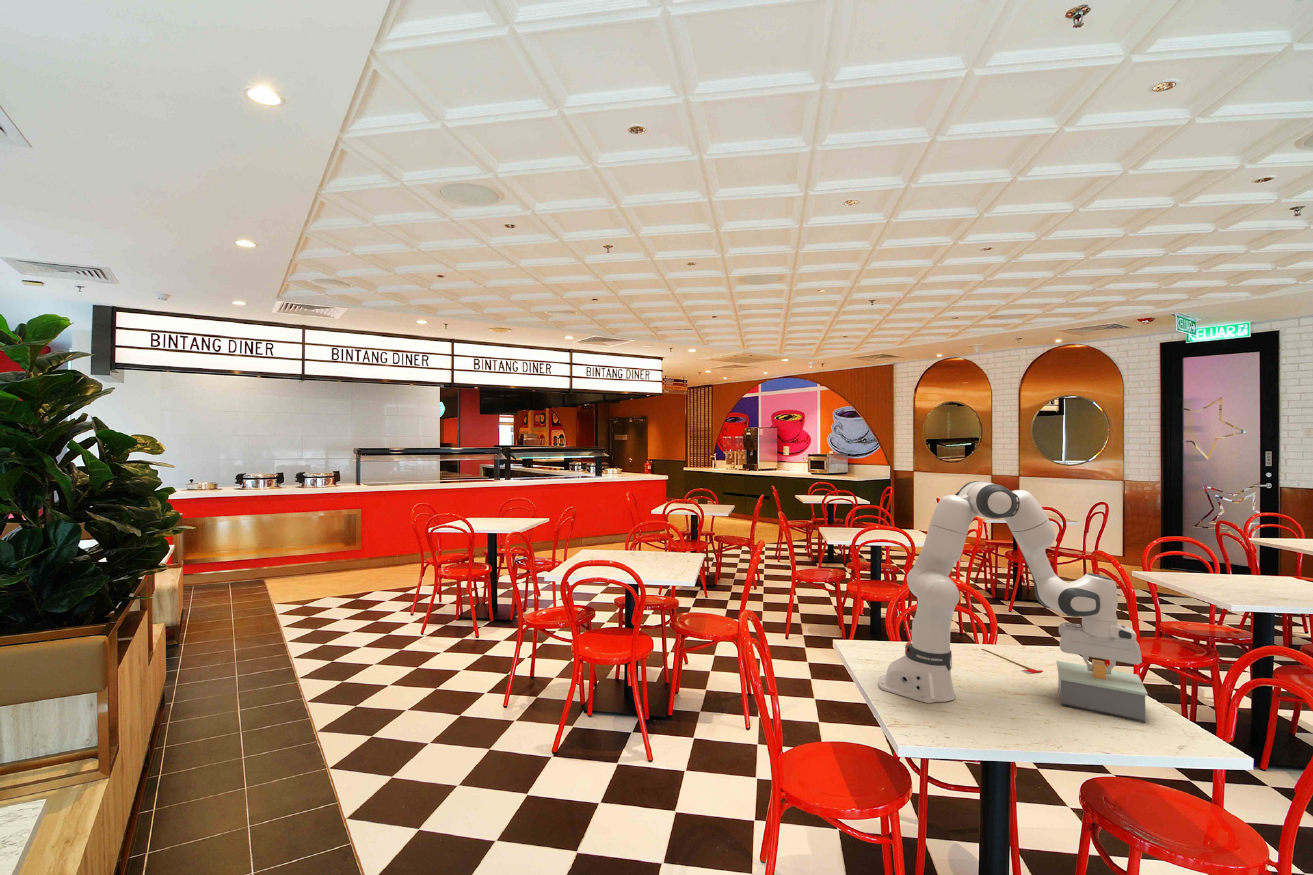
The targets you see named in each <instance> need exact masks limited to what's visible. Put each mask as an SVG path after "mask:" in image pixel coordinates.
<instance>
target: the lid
mask: <svg viewBox="0 0 1313 875" xmlns="http://www.w3.org/2000/svg"><path fill="white" fill-rule="evenodd" d="M1091 664H1093V671H1087V665H1085V664H1079V663H1074V662H1067V661H1062V660H1061V661H1060V660H1056V668H1057V676H1058V675H1059V680H1065V681H1070V682H1075V683H1081V684H1086V685H1091V686H1097V687H1102V688H1107V689H1113V690H1118V691H1123V692H1129V693H1134V694H1139V695H1145V697H1148V694H1149V693H1148V692H1147V689H1146V688H1145V686H1144V684H1143V682H1142V679H1141V678H1140V676H1139V674H1136V673H1131V672H1125V671H1118V670H1113V669H1111V675H1110V674H1106V667H1107V665H1106V662H1105V661H1103V660H1098V659H1091Z"/></svg>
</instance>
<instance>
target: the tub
mask: <svg viewBox="0 0 1313 875" xmlns="http://www.w3.org/2000/svg"><path fill="white" fill-rule="evenodd" d="M1057 676H1058V677H1057V678H1058V680H1057V682H1058V683H1057V685H1058V686H1057V688H1058V695H1059V700H1060V701H1059V702H1060V706H1062V707H1066V708H1071V709H1076V710H1081V711H1085V712H1090V713H1094V714H1100V715H1105V716H1109V717H1113V718H1119V719H1124V720H1127V721H1134V722H1138V723H1143V724H1145V723H1146V696H1145V695H1139V694H1134V693H1129V692H1123V691H1118V690H1113V689H1107V688H1102V687H1097V686H1091V685H1086V684H1081V683H1075V682H1070V681H1065V680H1059V675H1058V674H1057Z"/></svg>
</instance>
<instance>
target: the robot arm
mask: <svg viewBox="0 0 1313 875" xmlns="http://www.w3.org/2000/svg"><path fill="white" fill-rule="evenodd" d="M976 517H981V518H987V519H991V520H997V519H998V520H999V519H1004V521H1005V522H1006V525H1007V526H1008V528H1009V530H1010V532H1011V535H1012V536H1013V537H1014V539H1015V541H1016V543H1017V544H1018V547H1019V549H1020V551H1021V555H1022V557H1023V559H1024V562H1025V564H1026V566H1027V567H1028V570H1029V572H1030V575H1031V578H1032V580H1033V590H1034V596H1035V598H1036V600H1037V601H1038V603H1039V604H1040V605H1042V606H1044V607H1046V608H1048V609H1052V610H1055V611H1056V612H1059V613H1061V614H1063V615H1066V616H1067V617H1068V616H1069V617H1072V618H1073V617H1074V618H1078V617H1079V618H1080V617H1081V624H1080V623H1072V622H1068V621H1067V622H1066V621H1065V622H1064V623H1060V624H1059V625H1058V634H1059V635H1060V639H1059V650H1060V651H1061V652H1062V653H1065V654H1066V653H1067V654H1070V655H1071V654H1072V655H1078V656H1082V660H1083V661H1084V662H1085V664H1086V666H1087V671H1093V664H1092V663H1090V662H1089V660H1090V658H1096V659H1101V660H1108V661H1109V665H1108V666H1106V674H1110V675H1111V670H1113V669H1114V667H1115V666H1116V665H1117V662H1119V663H1126V664H1130V665H1137V666H1138V665H1140V664H1142V662H1143V661H1142V659H1143V658H1142V653H1141V652H1142V651H1141V646H1140V644H1139V643H1138V641H1137V633H1136V632H1135V630H1134V629H1132V628H1131V627H1129V626H1126V625H1123V624H1121V623H1118V620H1119V619H1118V616H1117V609H1118V607H1119V606H1118V604H1119V603H1118V602H1119V601H1118V598H1119V597H1118V588H1117V585H1116V582H1115V581H1114V580H1113V579H1112V578H1110V577H1107V576H1105V575H1101V574H1096V573H1093V572H1092V573H1090V572H1088V573H1085V574H1084V575H1083V576H1082V577H1080V578H1078V579H1075V580H1073V581H1071V582H1067V581H1065V580H1063V579H1061V578H1060V577H1059V576H1057V574H1056V573H1055V572H1054V569H1053V568H1052V565H1051V562H1050V560H1049V558H1048V555H1047V553H1046V549H1048V548H1050V547H1051V546H1052V545H1053V543H1054V542H1055V539H1056V535H1055V534H1056V533H1055V530H1054V527H1053V525H1052V522H1051V520H1050V519H1049V517H1048V515H1047V514H1046V512H1045V510H1044V508H1043V507H1042V506H1041V504H1040V503H1039V502H1038V500H1037V498H1035V497H1034V495H1033V494H1032V493H1030V492H1029V491H1028V490H1025V489H1015V490H1010V489H1009V488H1007V487H1005V486H1003V485H1001V484H995V483H993V482H990V481H979V480H973V481H969V482H967V483H966V484H964V485H963V486H962V487H961V488H960V489H959V490H958V491H957V492H956V493H955V494H946V495H944V496H942V497H941V498H940V499H939V501H938V503H937V505H936V506H935V509H934V511H933V513H932V516H931V520H930V522H929V526H928V530H927V532H926V533H927V534H926V537H925V539H924V541H923V542H924V543H923V545H922V548H921V551H920V553H919V554H918V557H917V559H916V560H915V563H914V565H913V567H912V568H911V569H910V570H909V571H908V573H907V575H906V582H907V586H908V589H909V591H910V592H911V593H912V594H913V596H915V597H916V599H917V606H916V611H915V615H914V618H913V620H912V621H911V623H912V625H911V626H912V627H911V629H912V630H911V631H912V632H911V633H912V634H911V636H912V637H911V641H907V642H906V643H905V648H904V655H903V656H901V657H899V658H897V659H895V660H893V661H892V662H891V663H889V665H888V667H887V670H886V673H885V674H884V675H882V676H881V677H879V679H878V687H879V689H880V690H882V691H886V692H889V693H891V694H892V693H893V694H896V695H899V696H902V697H906V698H908V699H912V700H915V701H920V702H922V703H926V704H932V703H939V702H941V703H943V702H945V703H946V702H950V701H953V700H954V699H956V694H955V690H954V686H953V682H952V681H953V680H952V671H951V670H952V666H953V654H952V650H951V628H952V621H953V617H954V612H955V608H956V607H957V605H958V604H959V601H960V597H961V596H960V591H959V589H958V587H957V584H956V583H955V582H954V581H953V580H952V579H951V578H950V577H949V575H950V573H951V572H952V570H953V568H954V566H955V565H956V563H957V562H959V561H960V559H961V557H962V554H963V551H964V547H965V543H966V540H967V535H968V533H969V528H970V525H971V523H972V521H973V520H974V518H976Z"/></svg>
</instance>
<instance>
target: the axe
mask: <svg viewBox="0 0 1313 875" xmlns="http://www.w3.org/2000/svg"><path fill="white" fill-rule="evenodd" d="M980 650H981V651H984V652H987V653H989V654H992V655H994V656H996V657H998V658H1000V659H1003V660H1005V661H1007V662H1009V663H1012V664H1015V665H1017V666H1019V667H1021V668H1023V669H1021V672H1023V673H1024V674H1027V675H1032V674H1041V673H1043V672H1044V670H1041V669H1040V670H1039V669H1036V668H1035V669H1034V668H1031V667H1028V666H1027V665H1023V664H1020V663H1018V662H1016V661H1013V660H1011V659H1008V658H1007V657H1004V656H1001V655H1000V654H996V653H994V652H992V651H990V650H987V649H984V648H981V649H980Z"/></svg>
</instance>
